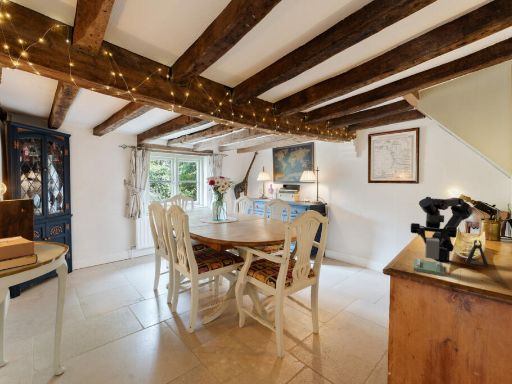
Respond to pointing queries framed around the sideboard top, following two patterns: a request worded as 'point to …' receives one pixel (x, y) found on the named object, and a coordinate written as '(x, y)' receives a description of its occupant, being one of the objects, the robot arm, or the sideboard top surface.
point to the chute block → (432, 248)
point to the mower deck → (428, 267)
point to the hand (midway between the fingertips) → (432, 244)
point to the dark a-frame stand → (471, 253)
